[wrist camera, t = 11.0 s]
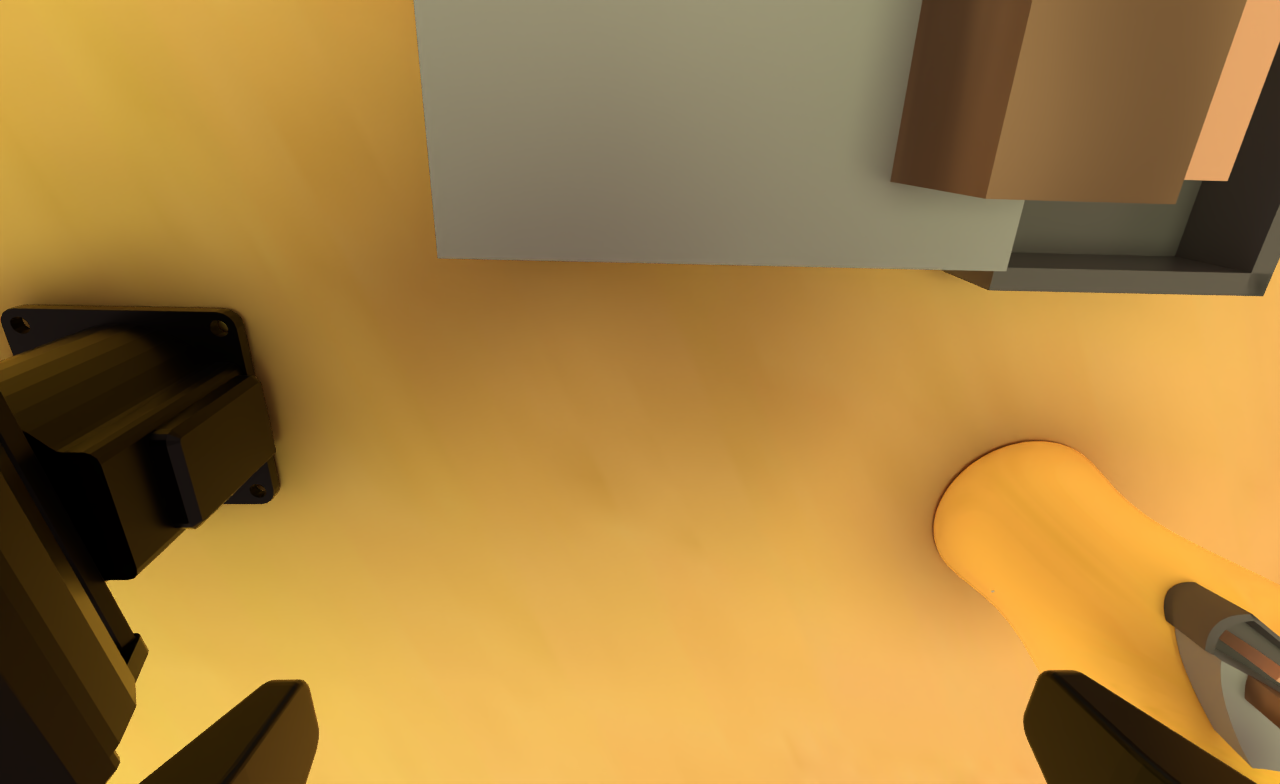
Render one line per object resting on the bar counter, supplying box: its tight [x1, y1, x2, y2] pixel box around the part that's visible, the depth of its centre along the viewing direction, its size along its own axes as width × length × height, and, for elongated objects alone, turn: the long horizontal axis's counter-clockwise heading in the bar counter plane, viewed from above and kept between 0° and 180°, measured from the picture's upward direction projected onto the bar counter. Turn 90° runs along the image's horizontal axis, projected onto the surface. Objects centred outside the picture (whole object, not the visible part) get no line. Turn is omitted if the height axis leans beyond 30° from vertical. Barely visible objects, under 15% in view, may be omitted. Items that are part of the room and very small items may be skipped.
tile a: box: [1184, 0, 1280, 181], centre depth 15 cm, size 4×4×2 cm
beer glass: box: [933, 441, 1280, 784], centre depth 16 cm, size 7×7×15 cm
